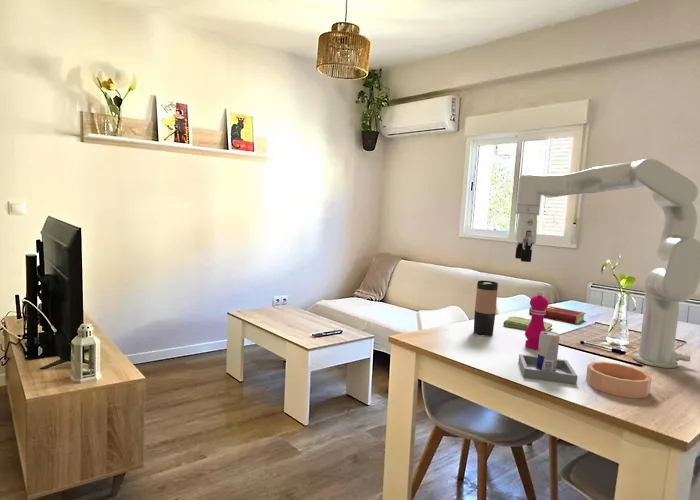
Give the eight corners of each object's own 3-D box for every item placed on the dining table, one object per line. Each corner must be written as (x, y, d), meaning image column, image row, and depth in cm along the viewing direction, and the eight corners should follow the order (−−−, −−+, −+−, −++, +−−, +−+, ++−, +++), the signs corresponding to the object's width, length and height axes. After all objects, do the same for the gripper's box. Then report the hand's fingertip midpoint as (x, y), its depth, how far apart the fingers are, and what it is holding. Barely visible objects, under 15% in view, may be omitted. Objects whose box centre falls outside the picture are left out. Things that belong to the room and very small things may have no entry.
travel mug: (489, 331, 181) (494, 281, 179) (496, 336, 174) (501, 284, 172) (470, 330, 181) (474, 280, 179) (476, 335, 173) (480, 283, 171)
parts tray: (566, 368, 143) (567, 360, 142) (576, 384, 129) (577, 375, 129) (518, 361, 146) (519, 354, 146) (523, 377, 132) (524, 368, 132)
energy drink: (539, 368, 141) (543, 329, 140) (557, 372, 138) (562, 333, 137) (533, 372, 137) (537, 332, 136) (552, 377, 134) (556, 336, 133)
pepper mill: (547, 351, 159) (553, 294, 157) (525, 348, 161) (531, 292, 159) (543, 345, 166) (548, 290, 164) (522, 342, 168) (527, 288, 166)
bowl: (637, 381, 135) (639, 366, 134) (657, 401, 120) (659, 385, 120) (581, 373, 138) (583, 359, 138) (594, 392, 124) (596, 376, 123)
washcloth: (548, 335, 182) (548, 327, 182) (502, 327, 191) (502, 319, 190) (552, 328, 193) (553, 321, 193) (508, 321, 202) (509, 314, 202)
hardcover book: (576, 325, 203) (577, 315, 202) (528, 315, 217) (529, 306, 216) (584, 321, 211) (585, 312, 211) (538, 312, 225) (539, 303, 225)
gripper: (545, 211, 150) (540, 263, 151) (533, 211, 167) (528, 258, 168) (521, 210, 151) (516, 262, 152) (511, 209, 168) (507, 256, 169)
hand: (522, 260), depth 160 cm, fingers open, 9 cm apart
